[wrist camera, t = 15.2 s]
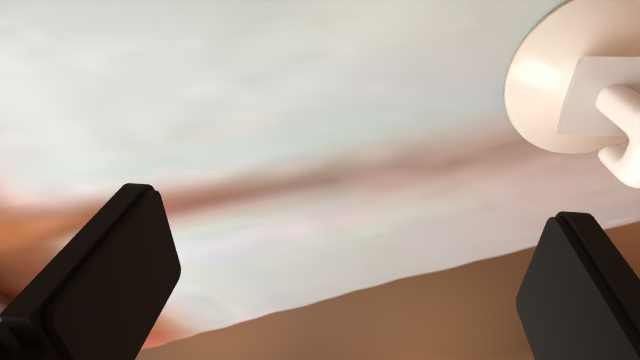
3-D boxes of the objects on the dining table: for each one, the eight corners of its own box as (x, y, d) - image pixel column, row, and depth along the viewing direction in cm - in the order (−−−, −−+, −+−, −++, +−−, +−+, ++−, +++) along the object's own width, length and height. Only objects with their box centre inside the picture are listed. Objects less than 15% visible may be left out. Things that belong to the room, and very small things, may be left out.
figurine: (539, 127, 40) (612, 219, 28) (570, 32, 35) (676, 92, 23) (614, 130, 40) (724, 225, 27) (657, 33, 34) (816, 96, 22)
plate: (526, -17, 35) (532, -14, 34) (723, -15, 33) (737, -12, 32) (485, 143, 44) (488, 149, 42) (640, 150, 42) (648, 157, 41)
